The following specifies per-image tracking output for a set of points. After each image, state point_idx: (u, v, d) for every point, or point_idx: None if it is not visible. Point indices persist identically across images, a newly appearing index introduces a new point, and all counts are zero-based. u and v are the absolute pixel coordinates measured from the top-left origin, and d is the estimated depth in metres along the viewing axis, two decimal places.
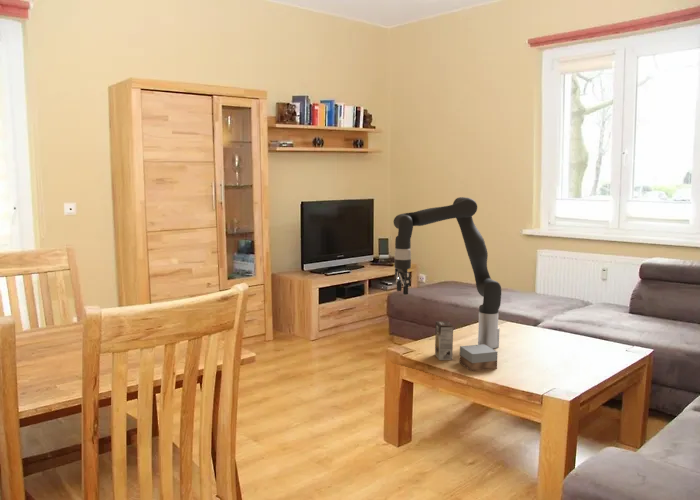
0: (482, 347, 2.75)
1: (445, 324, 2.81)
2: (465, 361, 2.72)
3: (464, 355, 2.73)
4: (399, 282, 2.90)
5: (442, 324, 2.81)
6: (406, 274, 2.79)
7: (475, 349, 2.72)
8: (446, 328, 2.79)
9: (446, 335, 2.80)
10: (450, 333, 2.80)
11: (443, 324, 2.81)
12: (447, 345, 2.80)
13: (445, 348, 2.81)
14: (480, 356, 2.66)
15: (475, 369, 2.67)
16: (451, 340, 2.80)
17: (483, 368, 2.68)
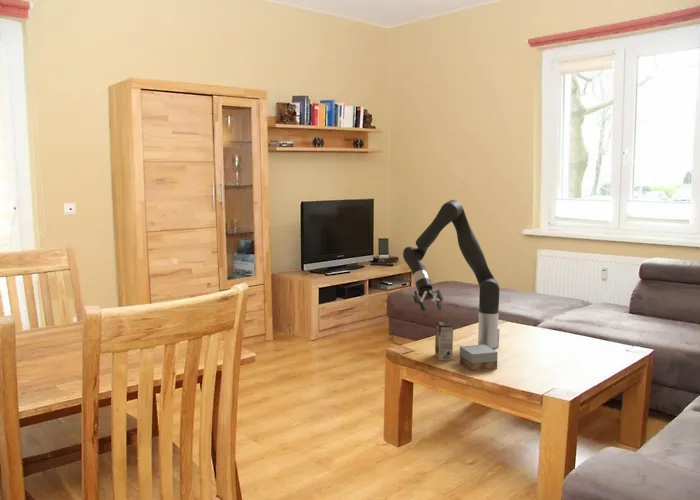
0: (482, 347, 2.75)
1: (445, 324, 2.81)
2: (465, 361, 2.72)
3: (464, 355, 2.73)
4: (437, 301, 3.00)
5: (442, 324, 2.81)
6: (413, 294, 3.00)
7: (475, 349, 2.72)
8: (446, 328, 2.79)
9: (446, 335, 2.80)
10: (450, 333, 2.80)
11: (443, 324, 2.81)
12: (447, 345, 2.80)
13: (445, 348, 2.81)
14: (480, 356, 2.66)
15: (475, 369, 2.67)
16: (451, 340, 2.80)
17: (483, 368, 2.68)
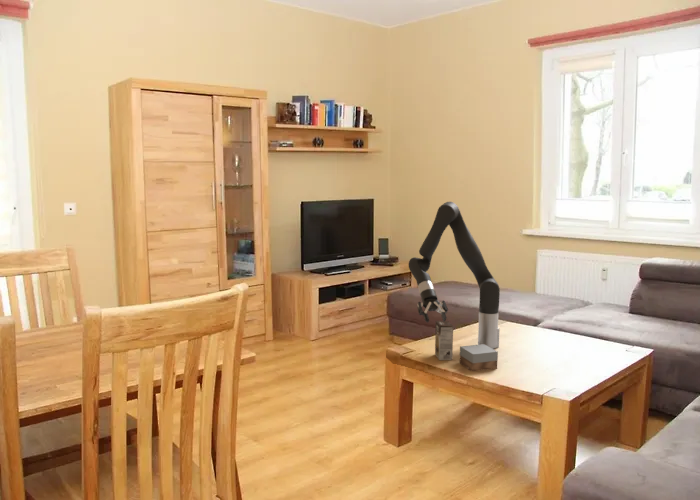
0: (482, 347, 2.75)
1: (445, 324, 2.81)
2: (465, 361, 2.72)
3: (464, 355, 2.73)
4: (442, 313, 2.95)
5: (442, 324, 2.81)
6: (417, 305, 2.96)
7: (476, 349, 2.72)
8: (446, 328, 2.79)
9: (446, 335, 2.80)
10: (450, 333, 2.80)
11: (443, 324, 2.81)
12: (447, 345, 2.80)
13: (445, 348, 2.81)
14: (480, 356, 2.67)
15: (475, 369, 2.67)
16: (451, 340, 2.80)
17: (483, 368, 2.68)
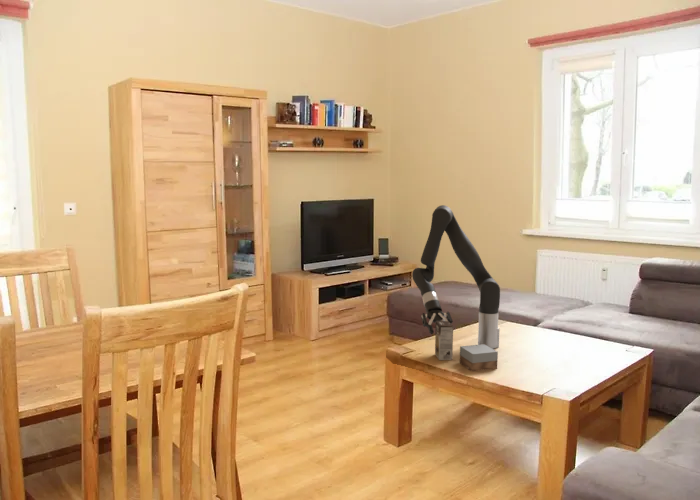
0: (482, 347, 2.75)
1: (445, 324, 2.81)
2: (465, 361, 2.72)
3: (464, 355, 2.73)
4: None
5: (442, 324, 2.81)
6: (421, 316, 2.92)
7: (476, 349, 2.72)
8: (446, 328, 2.79)
9: (446, 335, 2.80)
10: (450, 333, 2.80)
11: (443, 324, 2.81)
12: (447, 345, 2.80)
13: (445, 348, 2.81)
14: (480, 356, 2.67)
15: (475, 369, 2.67)
16: (451, 340, 2.80)
17: (483, 368, 2.68)
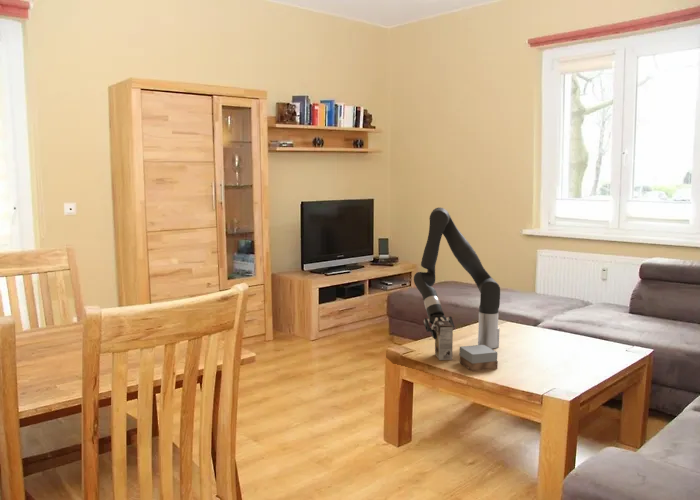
0: (481, 347, 2.75)
1: (444, 324, 2.81)
2: (465, 361, 2.72)
3: (463, 355, 2.73)
4: None
5: (441, 324, 2.81)
6: (423, 321, 2.90)
7: (475, 349, 2.72)
8: (446, 328, 2.79)
9: (446, 335, 2.80)
10: (449, 332, 2.80)
11: (442, 324, 2.81)
12: (447, 345, 2.80)
13: (445, 347, 2.81)
14: (480, 357, 2.67)
15: (475, 370, 2.67)
16: (451, 340, 2.80)
17: (483, 368, 2.68)
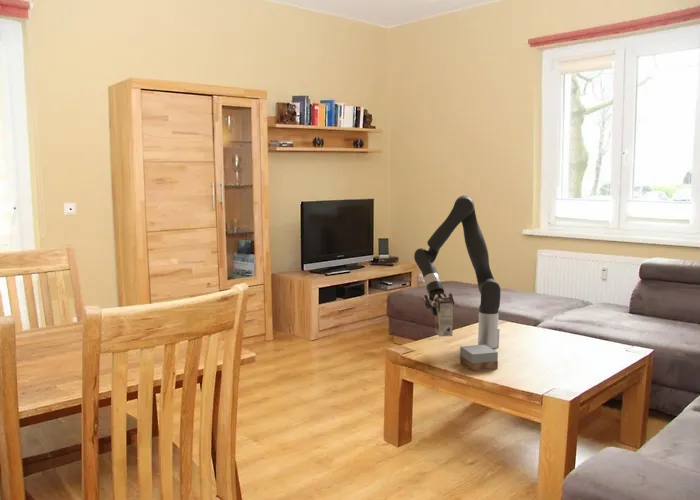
0: (482, 347, 2.75)
1: (444, 300, 2.80)
2: (465, 361, 2.72)
3: (464, 355, 2.73)
4: None
5: (441, 300, 2.80)
6: (423, 298, 2.88)
7: (476, 349, 2.72)
8: (445, 304, 2.78)
9: (446, 312, 2.78)
10: (449, 309, 2.78)
11: (442, 300, 2.80)
12: (447, 321, 2.79)
13: (445, 324, 2.79)
14: (480, 356, 2.66)
15: (476, 369, 2.67)
16: (451, 316, 2.79)
17: (483, 368, 2.68)
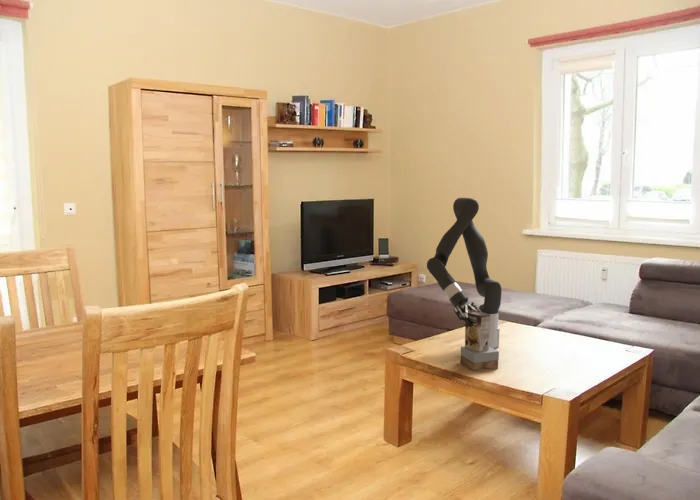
0: None
1: (481, 314, 2.70)
2: (466, 361, 2.72)
3: (465, 355, 2.73)
4: None
5: (479, 314, 2.69)
6: (454, 310, 2.71)
7: None
8: (485, 317, 2.68)
9: (485, 325, 2.69)
10: (488, 322, 2.69)
11: (480, 314, 2.69)
12: (486, 335, 2.69)
13: (484, 338, 2.69)
14: (481, 356, 2.67)
15: (476, 369, 2.67)
16: (488, 329, 2.70)
17: (484, 368, 2.68)
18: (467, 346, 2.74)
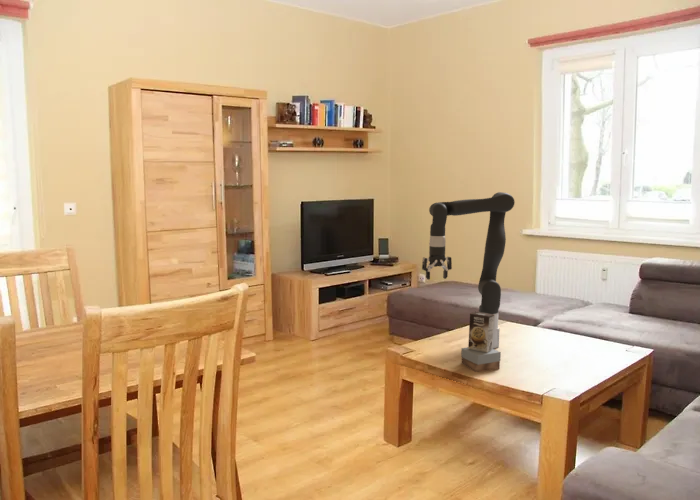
0: None
1: (486, 314, 2.69)
2: (467, 362, 2.72)
3: (467, 357, 2.71)
4: (444, 270, 2.96)
5: (485, 314, 2.68)
6: (423, 259, 2.92)
7: None
8: (491, 318, 2.68)
9: (491, 325, 2.69)
10: (492, 322, 2.70)
11: (485, 314, 2.69)
12: (491, 335, 2.70)
13: (490, 338, 2.69)
14: (485, 357, 2.66)
15: (478, 370, 2.66)
16: (492, 329, 2.71)
17: (485, 369, 2.67)
18: (471, 347, 2.72)
